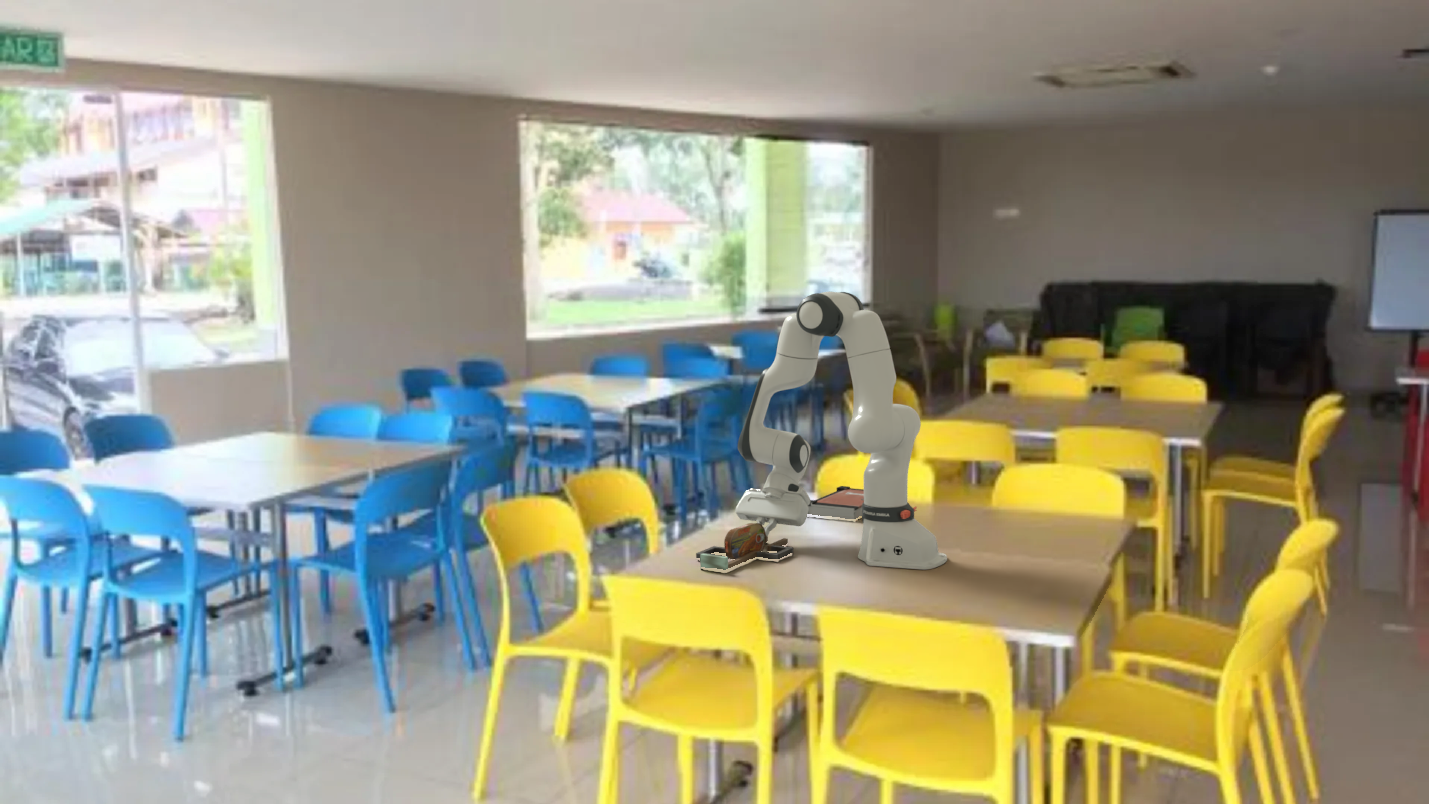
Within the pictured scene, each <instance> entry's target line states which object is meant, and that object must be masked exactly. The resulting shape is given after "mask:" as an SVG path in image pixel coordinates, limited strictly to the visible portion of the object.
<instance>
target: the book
mask: <svg viewBox="0 0 1429 804" xmlns="http://www.w3.org/2000/svg"><path fill="white" fill-rule="evenodd" d="M810 500H811V502H810V504H809V505H808V508H809V510H808V514H812V515H818V516H819V515H820V516H832V517H840V518H845V519H856V518H858V517H859V516H862V503H863V502H864V488H862V489H861V488H853V487H850V486H848V485H847V486H845V485H840V486H836V491H833V492H831V493H829V494H826V495H825V496H822V497H820V498H817V499H815V500H814V499H810Z"/></svg>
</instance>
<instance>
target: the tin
mask: <svg viewBox="0 0 1429 804" xmlns="http://www.w3.org/2000/svg"><path fill="white" fill-rule="evenodd" d="M764 527H765V526H764V525H761V524H759V523H757V522H755V523H753V522H751V523H746V524H743V525H740V526H738V527H735V528H731V529H730V530H729V531H728V532H726V535H725V538H724V543H723V544H724V545H723V547H725V553H726V556H727V557H728V559H729V558H730V559H729V560H731V559H737V558H739V557H742V556H744V555H746V554H749V553H751V552H753V551H762V552H764V549H765V547H766V544H765V543H766V533H765V529H764Z"/></svg>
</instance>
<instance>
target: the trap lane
mask: <svg viewBox="0 0 1429 804" xmlns="http://www.w3.org/2000/svg"><path fill="white" fill-rule="evenodd" d="M767 541H768V542H769V535H768V536H766V542H767ZM787 543H788V544H789V539H788V538H785V537H784V538H781V539H779V540H777V541H774V542H772V543H768V545H767V544H766V551H762V552H761V551H753V552H751V553H749V554H746V555H744V556H742V557H739V558H737V559H735V560H730V561H729V558H728V557H725V556H722V555H715V554H711V553H714V552H719V553H725V546H717V545H716V546H715V545H713V546H710V547H708V548H705V549H703V550H701V551H698V552H695V557H696V558H700V561H699V562H700V568H701V567H705V568H717V569H723V570H726V569H728V568H731V567H733V566H735V565H738V564H740V563H742V562H746V561H747V560H749V559H753V558H755V557H763V558H768V559H780V558H782V557H784V556H787V555H788V554H790V553H793V554H794V547H792V546H791V547H790V546H787V547H784V546H782V545H786V544H787ZM767 551H777V553H769V552H767Z"/></svg>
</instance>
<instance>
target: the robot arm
mask: <svg viewBox="0 0 1429 804" xmlns="http://www.w3.org/2000/svg"><path fill="white" fill-rule="evenodd" d="M796 309H797V310H796V312H793V313H790V314H788V315H787V316H786V317H785V318H784V321H783V323H782V327H781V329H780V333H779V337H778V341H777V346H776V347H777V348H776V353H775V357H774V361H773V362H772V364H771V365H770V367H767V368H765V369H764V370H763V371H762V372H761V374H760V377H759V378H758V381H757V383H756V387H755V390H754V393H753V396H752V398H751V403H750V407H749V409H748V412H747V415H746V419H745V422H744V425H743V427H742V430H741V432H740V434H739V438H738V441H737V451H738V452H739V454H740V455H741V457H742V458H743V459H744V460H745V461H746V462H753V463H761V464H767V465H770V466H772V470H771V471H770V472H769V474H768V476H767V478H766V481H765V483H764V486H763V487H762V488H761V489H760V488H750V489H748V490H745V492H744V493H743V495H742V496H741V498H740V499H739V501H738V503H737V505H736V506H735V509H734V511H735V514H736V516H737V517H738V518H739V520H744V521H752V522H756V523H759V524H761V525H762V526H763V527H764V529H765V533H766V536H768V537H769V534H770V532H771V531H773V530H774V529H775V528H776V527H777V525H778V524H779V525H785V526H795V527H802V526H803V525H804V524H805V523H806V520H807V518H808V517H807V514H808V510H809V508H808V505H809V504H810V502H811V500H812V499H811V498H810V496H809V494H808V493H807V491H806V490H805V489H804V487H803V486H801V485H800V481H801V480H802V478H803V477H804V476H805V472H806V470H807V467H808V463H809V461H810V456H811V449H812V448H811V446H810V444H809V442H807V440H806V439H804V438H803V437H802V435H801V434H798V433H795V432H791V431H786V430H779V429H775V428H771V427H766V426H765V425H764V421H765V418H766V416H767V411H768V408H769V404H770V402H771V398H772V397H773V396H774V394H776V393H778V392H780V391H786V390H791V389H797V388H799V387H802V386H804V385H807V384H808V383H809V382H810V381H811V380H812V379H813V378H814V376H815V373H816V371H817V368H818V367H817V366H818V360H819V353H820V345H821V342H822V340H823V338H824V337H828V338H829V337H831V338H832V337H833V338H834V337H835V336H836V337H839V338H840V339H841V341H842V343H843V344H844V349H845V354H846V358H847V363H848V368H849V373H850V377H851V378H850V379H851V381H852V382H851V383H852V389H853V402H852V403H853V405H852V406H853V407H852V408H853V409H852V416H851V417H852V418H851V421H850V422H849V425H848V428H847V429H848V430H847V436H848V440H849V442H850V444H851V446H852V447H853V448H854V449H855V450H857V451H858V452H861V453H864V454H870V457H869V460H868V464H867V466H866V468H865V469H864V472H863V489H864V502H863V503H862V519H861V521H862V524H863V525H862V536H861V543H860V546H859V552H858V555H857V558H858V559H859V560H861V561H863V562H864V563H865V564H866V565H867V566H869V567H870V566H873V567H882V568H883V567H886V568H899V569H912V570H931V569H935V568H937V567H940V566H942V565H944V564H946V562H947V561H948V556H947V554H946V553H943V552H939V546H938V540H937V537H936V535H935V534H934V533H932V532H931V531H930V530H929V529H927V528H926V527H925V526H924V525H923V524H922V523H920V522H919V520H917V519H916V518H915V512H917V511H918V510H917V507H918V506H914V507H913V506H912V505H911V504H910V503H909V501H908V478H909V476H908V475H909V469H910V462H911V457H912V453H913V448H914V443H915V441H916V438H917V436H918V434H919V432H920V430H921V424H922V423H921V419H920V415H919V413H918V412H917V411H916V409H914V408H913V407H911V406H910V405H906V404H900V403H894V401H893V400H894V399H893V398H894V388H895V385H896V383H897V374H896V369H895V365H894V364H895V363H894V360H893V355H892V351H891V349H890V348H891V346H890V342H889V339H888V336H887V332H886V330H885V327H884V325H883V323H882V319H881V317H880V315H878V313H877V312H875V311H873V310H867V309H865V308H864V305H863V303H862V301H861V300H860V299H859V298H858V297H857V296H856V295H854V294H852V293H850V292H847V291H837V292H836V291H824V292H823V291H822V292H816V293H812V294H810V295H809V294H808V295H807V296H806V297H805V298H803V299H802V300H801V301H800V303H799V304H798V305H797V308H796ZM765 523H767V525H766V526H764V525H765Z"/></svg>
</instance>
